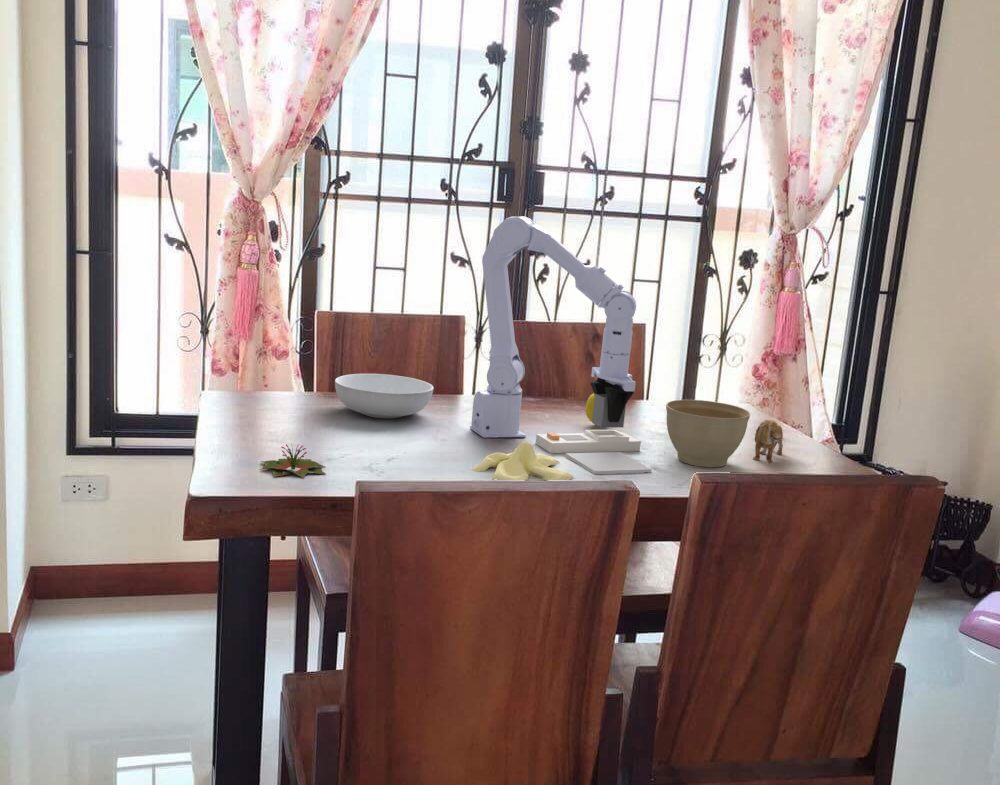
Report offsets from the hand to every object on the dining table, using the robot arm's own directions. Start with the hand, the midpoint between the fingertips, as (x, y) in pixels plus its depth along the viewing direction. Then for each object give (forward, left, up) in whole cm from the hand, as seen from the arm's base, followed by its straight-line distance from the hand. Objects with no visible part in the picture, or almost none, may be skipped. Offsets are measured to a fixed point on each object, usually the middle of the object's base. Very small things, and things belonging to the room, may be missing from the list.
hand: (608, 419), depth 203 cm
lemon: (+7, +17, -6) cm, 19 cm away
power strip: (-4, 0, -6) cm, 7 cm away
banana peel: (-26, -14, -7) cm, 30 cm away
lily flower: (-65, -9, -6) cm, 66 cm away
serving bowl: (-38, +30, -6) cm, 49 cm away
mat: (-6, -12, -6) cm, 15 cm away
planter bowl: (+15, -12, -6) cm, 20 cm away
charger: (0, 0, -1) cm, 1 cm away
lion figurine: (+32, -11, -6) cm, 34 cm away
